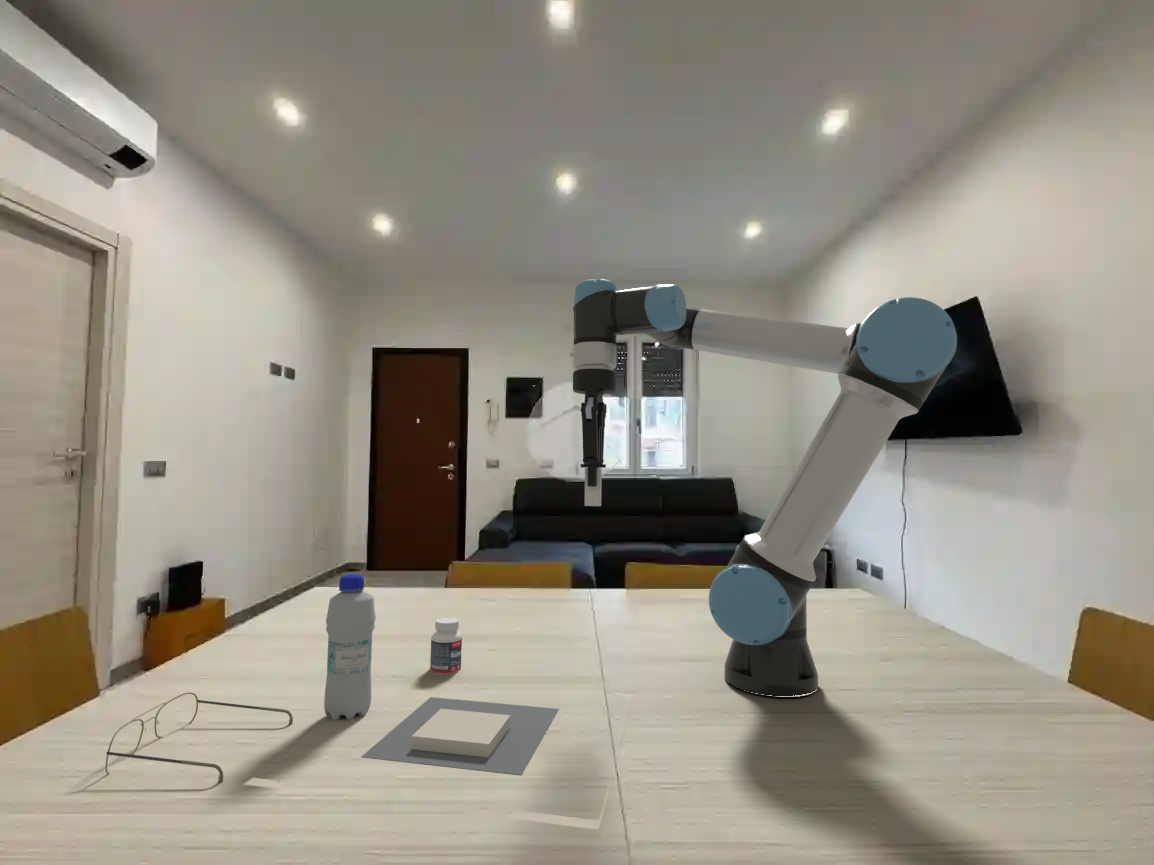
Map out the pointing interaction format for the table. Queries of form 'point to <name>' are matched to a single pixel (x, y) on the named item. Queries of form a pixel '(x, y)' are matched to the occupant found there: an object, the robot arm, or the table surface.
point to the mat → (505, 758)
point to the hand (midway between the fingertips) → (592, 505)
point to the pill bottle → (446, 647)
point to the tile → (461, 733)
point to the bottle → (349, 649)
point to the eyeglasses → (189, 723)
